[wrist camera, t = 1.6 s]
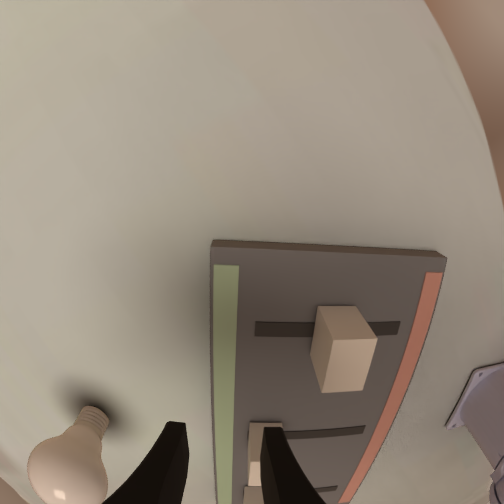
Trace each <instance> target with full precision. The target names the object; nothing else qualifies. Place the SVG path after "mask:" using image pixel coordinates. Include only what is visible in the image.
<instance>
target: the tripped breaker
mask: <svg viewBox="0 0 504 504" xmlns="http://www.w3.org/2000/svg"><path fill="white" fill-rule="evenodd" d="M377 339H378V338H377V337H376V335H375V334H374V332H373V331H372V329H371V328H370V326H369V325H368V323H367V322H366V320H365V319H364V318H363V316H362V315H361V313H360V312H359V310H358V309H357V307H356V306H318V308H317V315H316V321H315V327H314V334H313V340H312V345H311V351H310V356H311V360H312V363H313V366H314V369H315V373H316V376H317V379H318V382H319V386H320V389H321V392H322V393H332V392H348V391H360V390H363V387H364V384H365V381H366V377H367V374H368V371H369V367H370V364H371V361H372V357H373V354H374V350H375V346H376V343H377Z"/></svg>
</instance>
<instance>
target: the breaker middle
mask: <svg viewBox="0 0 504 504" xmlns="http://www.w3.org/2000/svg"><path fill="white" fill-rule="evenodd" d="M264 427H281V428H283V426H282V423H250V426H249V439H248V486H261V480H260V454H261V446H262V438H263V430H264Z"/></svg>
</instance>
